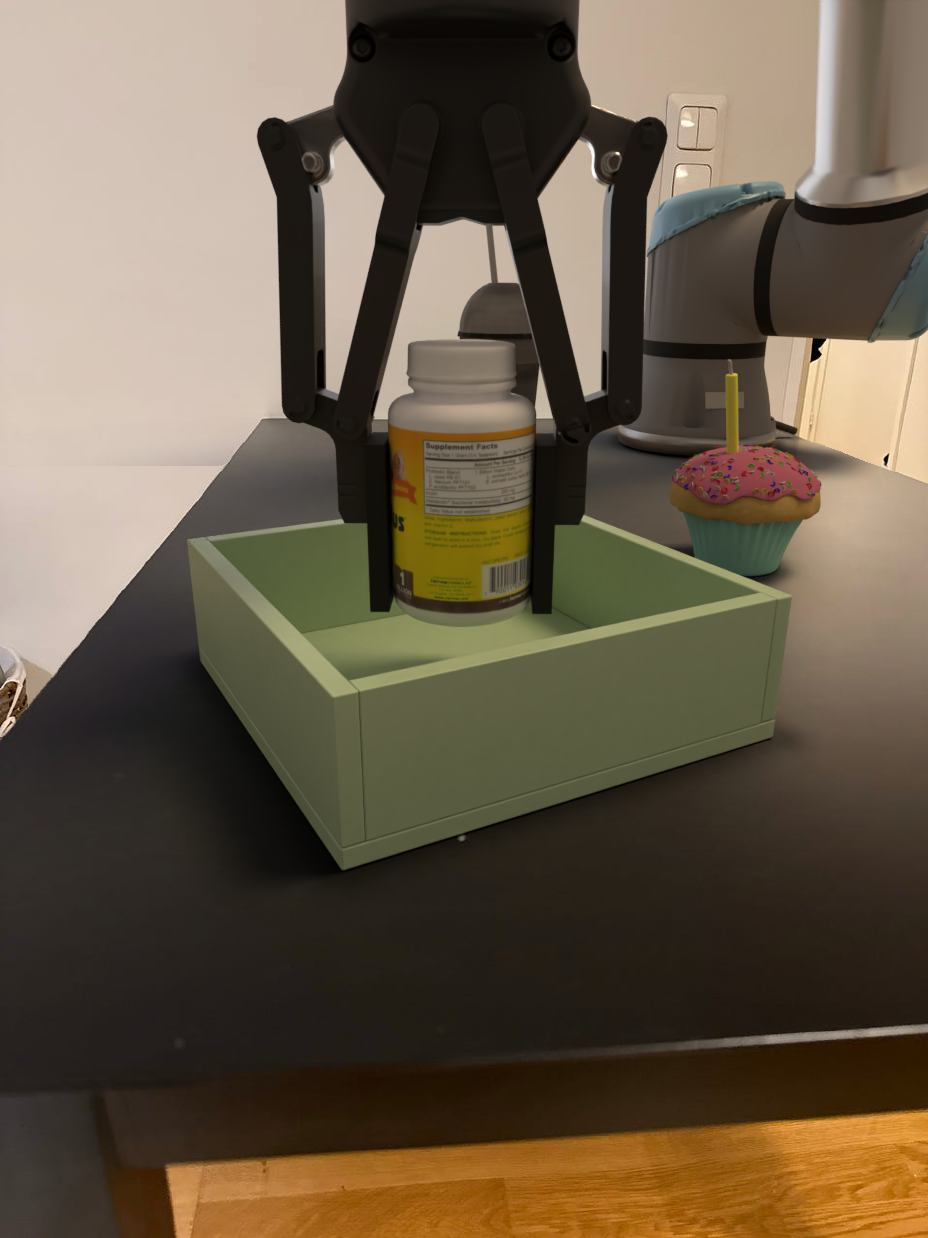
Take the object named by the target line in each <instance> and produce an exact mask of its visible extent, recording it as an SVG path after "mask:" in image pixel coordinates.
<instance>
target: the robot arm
mask: <svg viewBox="0 0 928 1238" xmlns="http://www.w3.org/2000/svg"><path fill="white" fill-rule="evenodd" d="M580 1H581V0H344V5H345V6H344V7H345V9H344V10H345V32H346V33H345V35H346V57H345V59H346V60H345V64H344V70H343V73H342V76H341V79H340V81H339V83H338V85H337V88H336V90H335V92H334V96H333V103H332V105H330V106H329V105H328V106H326V107H324V108H321V109H318V110H316V111H313V112H310V113H307V114H305V115H301V116H299V117H297V118H294V119H291V120H287V121H285V120H284V119H282V118H279V117H276V116H274V117H267V118H266V119H264V120H263V121H262V122H261V123H260V125H258V128H257V132H256V140H257V146H258V148H259V151H260V154H261V157H262V160H263V162H264V165H265V168H266V172H267V174H268V176H269V179H270V180H269V181H270V183H271V185H272V188H273V191H274V194H275V196H276V197H275V198H276V227H277V228H276V229H277V231H276V232H277V233H276V234H277V261H278V262H277V268H278V272H277V273H278V306H279V307H278V308H279V346H280V347H279V350H280V351H279V352H280V384H281V385H280V389H281V390H280V391H281V393H280V394H281V410H282V413H283V414H284V416H285V417H286V419H288V420H289V421H290V422H292V423H294V424H306V425H308V426H311V427H314V428H317V429H319V430H321V431H324V432H325V433H326V434H328V435H329V437H330V438H331V439H332V441H333V444H334V448H335V465H336V466H335V467H336V484H337V486H336V487H337V489H336V490H337V509H338V512H339V515H340V518H341V519H343V521H344V523H367V537H368V564H369V592H370V612H390V609H391V605H392V602H393V599H394V593H393V573H392V541H391V510H390V479H389V443H388V431H373V422H374V420H375V412H376V408H377V405H378V400H379V397H380V393H381V389H382V385H383V381H384V376H385V373H386V369H387V364H388V361H389V358H390V354H391V349H392V346H393V342H394V338H395V334H396V330H397V325H398V322H399V318H400V314H401V310H402V306H403V302H404V298H405V295H406V292H407V291H406V290H407V287H408V282H409V278H410V275H411V271H412V268H413V267H412V266H413V262H414V259H415V256H416V253H417V250H418V247H419V243H420V240H421V236H422V232H423V228H424V227H428V226H430V227H431V226H433V227H435V226H437V227H440V226H445V225H448V224H452V223H455V222H458V221H463V220H464V221H467V222H471V223H475V224H477V225H481V226H485V227H486V226H492V227H494V226H496V227H503V228H504V232H505V236H506V239H507V243H508V248H509V250H510V254H511V258H512V261H513V265H514V270H515V274H516V277H517V283H518V284H519V286H520V290H521V294H522V298H523V302H524V306H525V310H526V314H527V318H528V322H529V326H530V330H531V334H532V338H533V342H534V346H535V350H536V353H537V357H538V361H539V365H540V366H539V370H540V374H541V377H542V381H543V385H544V389H545V393H546V398H547V402H548V406H549V408H550V412H551V416H552V420H553V432H536V447H535V481H534V521H533V554H532V587H531V597H530V598H531V607H532V614H552V593H553V566H554V540H555V525H579V524H580V522H581V520H582V518H583V515H585V513H586V500H587V499H586V496H587V478H588V458H589V457H588V455H589V447H590V444H591V442H592V441H593V439H594V438H595V437H596V436H597V435H598V434H600V433H603V432H604V431H606V430H610V429H612V428H615V427H618V431H617V432H618V434H617V439H618V442H619V443H621V444H623V445H624V446H626V447H628V448H629V447H630V448H633V449H637V450H642V451H646V452H652V453H659V454H666V455H667V454H668V455H676V456H690V457H693V456H694V455H698V454H699V453H700V452H707V451H710V450H714V449H715V447H716V446H719V447H721V448H725V447H727V437H726V380H725V376H726V375H727V374H729V368H728V360H731V361H732V370H733V373H736V374H738V442H739V446H741V445H743V444H744V445H751V446H752V447H755V446H761V447H763V448H766V447H770V448H771V447H775V442H776V434H777V431H782V432H784V433H787V434H789V435H792V436H795V435H797V433H798V427H795V426H793V425H790V424H788V423H784V422H782V421H778V420H776V419H775V417H774V416H772V415H771V402H770V401H771V400H770V393H769V386H768V381H767V376H766V370H765V369H766V368H765V362H766V361H765V359H766V350H767V342H768V337H781V338H801V339H802V338H805V339H823V340H841V341H843V340H844V341H845V340H846V341H863V342H865V341H866V342H867V343H868V344H873V343H876V341H912V340H915V339H918V338H920V337H921V336H923V335H924V334H925V333H926V332H927V331H928V0H817V30H816V31H817V32H816V34H817V35H816V36H817V38H816V39H817V40H816V77H815V78H816V80H815V81H816V82H815V83H816V84H815V123H814V124H815V126H814V127H815V128H814V129H815V132H814V160H813V162H812V164H811V165H810V166H809V167H808V168H807V169H806V171H804V173H803V174H802V175H801V176H800V177H799V178H798V180H796V182H795V184H794V196H793V197H794V198H786V196H787V193H786V191H785V187H784V185H783V183H781V182H778V181H772V180H771V181H770V180H769V181H750V182H747V183H746V182H745V183H732V184H725V185H717V186H712V187H707V188H701V189H697V190H692V191H688V192H683V193H680V194H677V195H674V196H672V197H669V198H667V199H666V200H664V201H663V202H661V203H660V204H659V205H658V207H656V209H655V211H654V213H653V216H652V221H651V228H650V234H649V235H650V236H649V244H648V248H647V223H648V197H649V193H650V191H651V188H652V185H653V182H654V180H655V178H656V175H657V171H658V168H659V166H660V163H661V160H662V157H663V155H664V151H665V149H666V146H667V143H668V136H669V135H668V130H667V127H666V125H665V123H664V122H663V121H662V120H661V119H660V118H658V117H655V116H647V117H644V118H640V120H635V119H632V118H630V117H627V116H625V115H622V114H619V113H616V112H613V111H610V110H607V109H605V108H603V107H600V106H596V105H594V104H592V99H591V98H592V97H591V93H590V91H589V87H588V86H587V84H586V82H585V79H584V77H583V74H582V71H581V67H580V63H579V52H578V51H579V48H578V47H579V27H580V26H579V24H580V3H581V2H580ZM578 141H580V142H582V143H584V144H585V145H586V146H587V147H588V149H589V151H590V153H591V166H590V167H591V169H590V170H591V174H592V177H593V179H594V180H595V181H596V182H597V183H598V184H599V185H601V186H604V187H605V188H606V189H605V193H604V200H603V207H602V227H601V229H602V231H601V232H602V235H601V236H602V237H601V239H602V240H601V241H602V242H601V243H602V244H601V326H600V327H601V328H600V329H601V333H600V335H601V337H600V390H597V391H595V392H592V393H590V394H586V395H584V391H583V387H582V382H581V379H580V374H579V370H578V365H577V362H576V357H575V352H574V349H573V344H572V340H571V336H570V331H569V327H568V324H567V320H566V315H565V311H564V307H563V303H562V298H561V295H560V290H559V286H558V282H557V278H556V274H555V270H554V269H555V268H554V265H553V262H552V261H553V260H552V256H551V253H550V249H549V243H548V237H547V233H546V228H545V223H544V218H543V215H542V211H541V207H540V203H539V197H540V196H541V195H542V193H543V192H544V190H545V189H546V188H547V186H548V185H549V182H551V180H552V178H553V177H554V176H555V174H556V173H557V171H558V170H559V169H560V167H561V166H562V164H563V163H564V161H565V160H566V159H567V157H568V156H569V154H570V153H571V151H572V150H573V149H574V147H575V145H576V144H577V142H578ZM344 142H347V144H348V145H349V147H350V148H351V149H352V151H353V152H354V154H355V156H356V157H357V159H358V160H359V161H360V163H361V165H363V167H364V168H365V170H366V171H367V173H368V174H369V176H370V178H371V179H372V181H373V182H374V183H375V184H376V186H377V188H378V189H379V190H380V192H381V193H382V195H383V200H382V204H381V209H380V212H379V217H378V221H377V226H376V230H375V236H374V245H373V250H372V254H371V259H370V263H369V266H368V271H367V274H366V280H365V283H364V288H363V291H362V296H361V299H360V303H359V309H358V313H357V317H356V321H355V324H354V325H355V326H354V329H353V333H352V338H351V342H350V346H349V349H348V350H349V351H348V354H347V358H346V363H345V367H344V371H343V376H342V379H341V384H340V387H339V393H337V392H334V391H332V390H329V389H327V337H326V335H327V334H326V332H327V329H326V327H327V326H326V324H327V323H326V321H327V320H326V319H327V318H326V218H325V215H326V214H325V204H324V197H323V191H322V186H325V185H327V184H329V182H331V180H332V179H333V177H334V176H335V170H336V167H335V155H336V151H337V149H338V147H340V145H341V144H342V143H344ZM646 258H647V259H646ZM646 263H647V267H646Z"/></svg>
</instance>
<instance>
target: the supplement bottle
mask: <svg viewBox="0 0 928 1238" xmlns="http://www.w3.org/2000/svg"><path fill="white" fill-rule="evenodd" d="M405 374H406V375H407V377H408V379H407V385H408V387H410V388H411V390H413V391H412V392H409V393H405V394H403V395H400V396H397V397H396V398H395V399H394V400H393V401H392V402H391V403H390V404H389V407H388V410H387V432H388V443H389V479H390V510H391V541H392V573H393V593H394V598H395V601H396V603H397V605H398V606H399V608H400V609H401V610H402V611H403V612H405V613H406V614H407V615H409V616H411V617H413V618H415V619H417V620H420V621H423V622H426V623H430V624H435V625H441V626H450V627H474V626H482V625H489V624H494V623H498V622H502V621H505V620H507V619H510V618H512V617H514V616H516V615H517V614H519V613H520V612H521V611H523V610H524V608H525V607H526V606H527V604H528V603H529V600H530V597H531V587H532V554H533V521H534V481H535V447H536V433H537V409H536V406H535V407H534V405H533V403H532V402H531V401H530V400H529V399H527V398H526V397H524V396H521V395H518V394H514V393H511V389H512V388H514V387H515V386H516V379H515V376H516V375H517V372H516V346H515V344H513V343H510V342H506V341H495V340H478V339H460V338H459V339H457V338H456V339H455V338H451V339H450V338H448V339H428V340H427V339H425V340H416V341H415V340H414V341H411V342H409V343H408V345H407V369H406V373H405Z"/></svg>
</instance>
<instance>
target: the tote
mask: <svg viewBox="0 0 928 1238" xmlns="http://www.w3.org/2000/svg"><path fill="white" fill-rule="evenodd" d="M186 545H187V553H188V554H187V555H188V563H189V571H190V572H189V573H190V582H191V589H192V590H191V591H192V598H193V608H194V617H195V625H196V635H197V645H198V646H199V647H198V652H199V661H200V662H201V664H202V666H203V667H204V669H205V670H206V672H207V673H208V675H209V676H210V677H211V679H212V681H213V682H214V684H215V685H216V686H217V688H218V689H219V691H220V692H221V694H222V696H223V697H224V698H225V700H226V702H227V703H228V704H229V706H230V707H231V708H232V711H234V713H235V715H236V716H237V717H238V719H239V721H240V722H241V723H242V725H243V726H244V728H245V729H246V731H247V732H248V734H249V735H250V736H251V738H252V740H253V742H254V743H255V744H256V746H257V747H258V749H259V750H260V752H261V753H262V754H263V756H264V757H265V759H266V761H267V762H268V763H269V765H270V766H271V768H272V769H273V771H274V772H275V773H276V775H277V777H278V778H279V780H280V781H281V782H282V784H283V785H284V787H285V788H286V790H287V791H288V793H289V794H290V796H291V797H292V799H293V800H294V801H295V803H296V805H297V806H298V808H299V809H300V811H301V812H302V813H303V815H304V816H305V818H306V820H307V821H308V823H309V824H310V825H311V827H312V828H313V830H314V831H315V833H316V834H317V835H318V837H319V838H320V840H321V841H322V843H323V845H324V846H325V848H326V849H327V850H328V852H329V854H331V856H332V858H333V859H334V861H335V862H336V864H337V865H338V867H339V869H340V870H342V871H346V870H350V869H353V868H356V867H359V866H362V865H365V864H369V863H372V862H376V861H378V860H379V861H380V860H381V859H385V858H389V857H391V856H395V855H398V854H402V853H404V852H408V851H411V850H414V849H417V848H420V847H423V846H426V845H430V844H433V843H436V842H440V841H443V840H446V839H449V838H453V837H456V836H460V835H462V834H465V833H469V832H472V831H475V830H478V829H481V828H484V827H488V826H491V825H495V824H498V823H501V822H504V821H507V820H511V819H513V818H517V817H520V816H523V815H526V814H529V813H534V812H537V811H539V810H543V809H546V808H549V807H552V806H553V807H554V806H555V805H559V804H562V803H566V802H569V801H572V800H575V799H577V798H581V797H585V796H588V795H591V794H594V793H597V792H601V791H604V790H608V789H611V788H613V787H617V786H619V785H623V784H626V783H630V782H633V781H637V780H639V779H642V778H645V777H646V778H647V777H649V776H652V775H655V774H659V773H662V772H665V771H668V770H672V769H676V768H678V767H682V766H685V765H688V764H691V763H694V762H697V761H700V760H703V759H707V758H710V757H714V756H717V755H720V754H723V753H726V752H730V751H732V750H736V749H739V748H743V747H745V746H748V745H752V744H755V743H758V742H762V741H765V740H768V739H772V738H773V737H774V732H775V725H776V719H775V718H776V717H777V716H776V715H777V709H778V702H779V694H780V688H781V687H780V686H781V682H782V681H781V680H782V672H783V665H784V660H785V659H784V658H785V650H786V644H787V636H788V629H789V621H790V615H791V613H790V612H791V608H792V600H793V599H792V598H793V596H792V594H789V593H786V592H784V591H783V590H782V591H781V590H779V589H776V588H773V587H771V586H769V585H766V584H764V583H761V582H758V581H755V580H753V579H751V578H748V577H746V576H740V575H738V574H735V573H732V572H730V571H727V570H725V569H722V568H720V567H717V566H714V565H712V564H709V563H707V562H704V561H701V560H699V559H696V558H695V556H691V555H689V554H686V553H683V552H681V551H679V550H675V549H673V548H670V547H667V546H665V545H662V544H659V543H657V542H655V541H652V540H650V539H648V538H645V537H642V536H639V535H637V534H634V533H632V532H629V531H627V530H624V529H622V528H619V527H616V526H615V525H610V524H608V523H606V522H604V521H600V520H598V519H595V518H593V517H590V516H588V515H586V514H584V515H583V518H582V520H581V522H580V524H579V525H555V540H554V566H553V593H552V614H532V607H531V598H530V600H529V603H528V604H527V606H526V607H525V608H524V610H523V611H521V612H520V613H519V614H517V615H516V616H514V617H512V618H510V619H507V620H505V621H502V622H498V623H494V624H489V625H482V626H474V627H450V626H441V625H435V624H430V623H426V622H423V621H420V620H417V619H415V618H413V617H411V616H409V615H407V614H406V613H405V612H403V611H402V610H401V609H400V608H399V606H398V605H397V603H396V601H395V598H394V599H393V602H392V605H391V609H390V612H370V592H369V564H368V537H367V523H344V521H343V519H342V518H339V519H333V520H331V519H330V520H324V521H318V522H309V523H301V524H296V525H295V524H294V525H286V526H279V527H270V528H263V529H255V530H248V531H247V530H246V531H241V532H233V533H226V534H225V533H224V534H218V535H217V534H216V535H209V536H205V537H204V536H203V537H195V538H188V539H187V540H186Z"/></svg>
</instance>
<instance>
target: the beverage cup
mask: <svg viewBox="0 0 928 1238" xmlns="http://www.w3.org/2000/svg"><path fill="white" fill-rule="evenodd" d="M493 227H494V226H485V231H486V232H485V233H486V240H487V252H488V261H489V272H490V281H491V282H488V283H486V284H484V285H483V286H481V287H479V288H478V289H477V290H476V291H475V292H474V293H472V295H471V296H470V297H469V299H468V300H467V301H466V304H465V305H464V307H463V310H462V312H461V316H460V319H459V326H458V327H459V328H458V331H457V335H456V336H457V337H459V339H478V340H495V341H506V342H510V343H513V344H515V346H516V372H517V375H516V376H515V379H516V386H515V387H514V388H512V389H511V393H514V394H518V395H521V396H524V397H526V398H527V399H529V400H530V401H531V402H532V403H533V405H534V407H535V408H536V402H537V395H538V393H537V392H538V384H539V377H540V376H539V374H540V365H539V361H538V357H537V353H536V350H535V346H534V342H533V338H532V334H531V330H530V326H529V322H528V318H527V314H526V310H525V306H524V302H523V298H522V294H521V290H520V286H519V282H499V278H498V267H497V261H496V260H497V258H496V248H495V247H496V246H495V239H494V228H493Z"/></svg>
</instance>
